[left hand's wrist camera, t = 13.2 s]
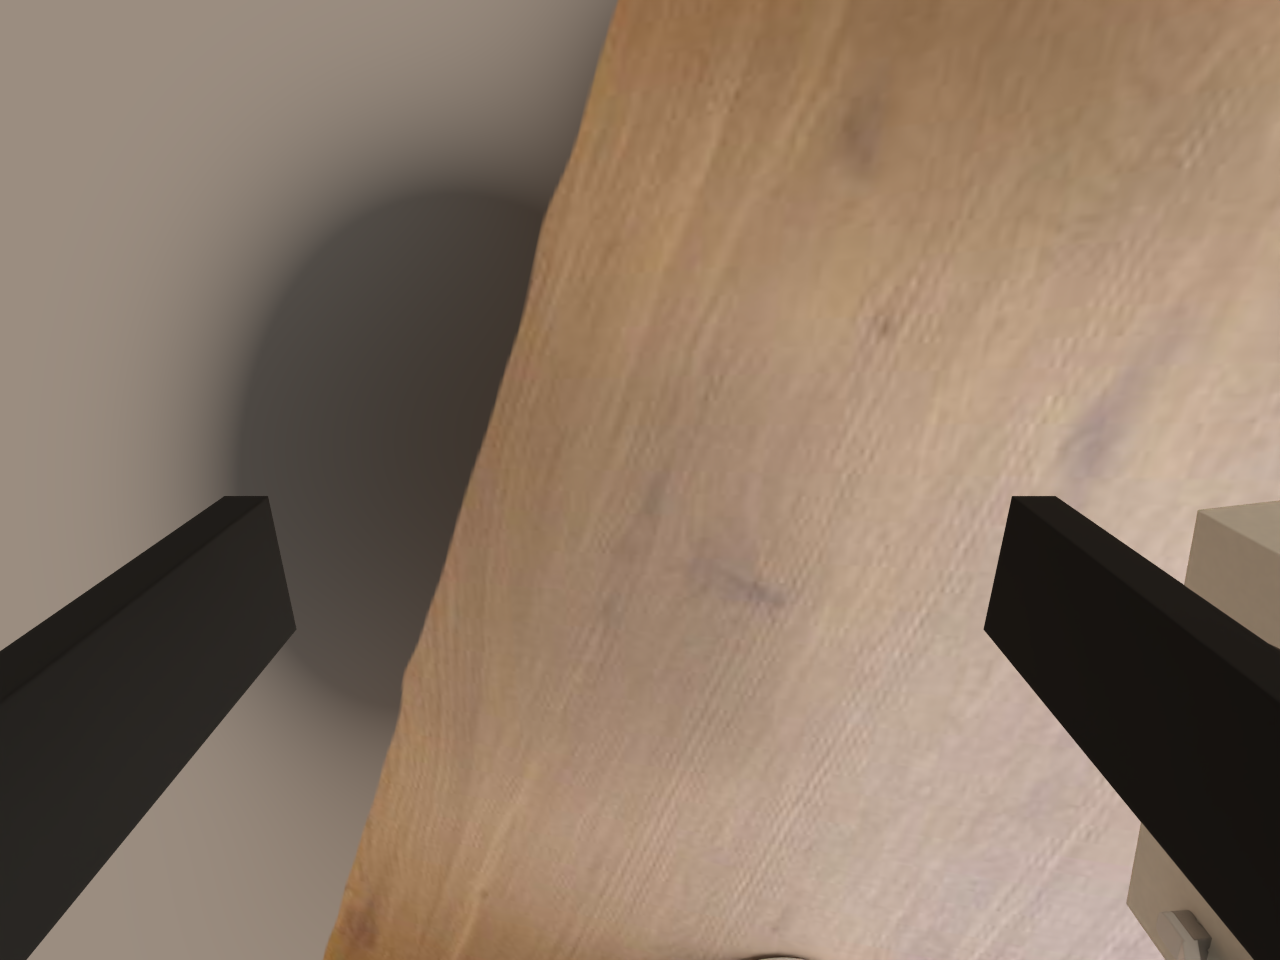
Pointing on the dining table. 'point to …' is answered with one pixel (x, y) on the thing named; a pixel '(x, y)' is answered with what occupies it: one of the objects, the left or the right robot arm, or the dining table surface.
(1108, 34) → the dining table surface
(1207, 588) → the bar
